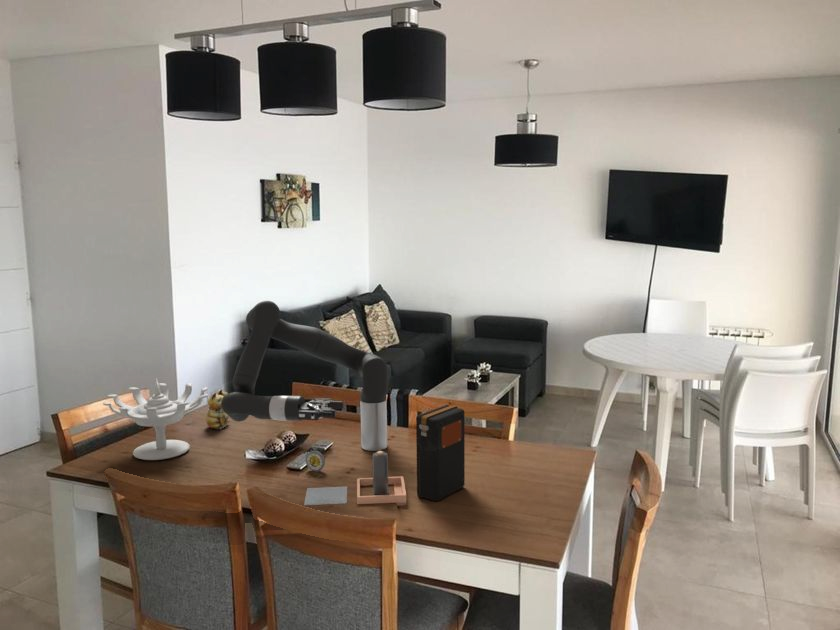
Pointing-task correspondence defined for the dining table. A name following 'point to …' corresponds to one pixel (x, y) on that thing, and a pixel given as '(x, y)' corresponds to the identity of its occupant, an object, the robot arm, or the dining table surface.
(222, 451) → the dining table surface
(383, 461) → the battery
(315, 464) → the pocket watch
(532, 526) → the dining table surface
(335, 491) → the pad
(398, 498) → the bin
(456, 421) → the black case
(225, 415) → the decorative figurine
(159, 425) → the candelabra
